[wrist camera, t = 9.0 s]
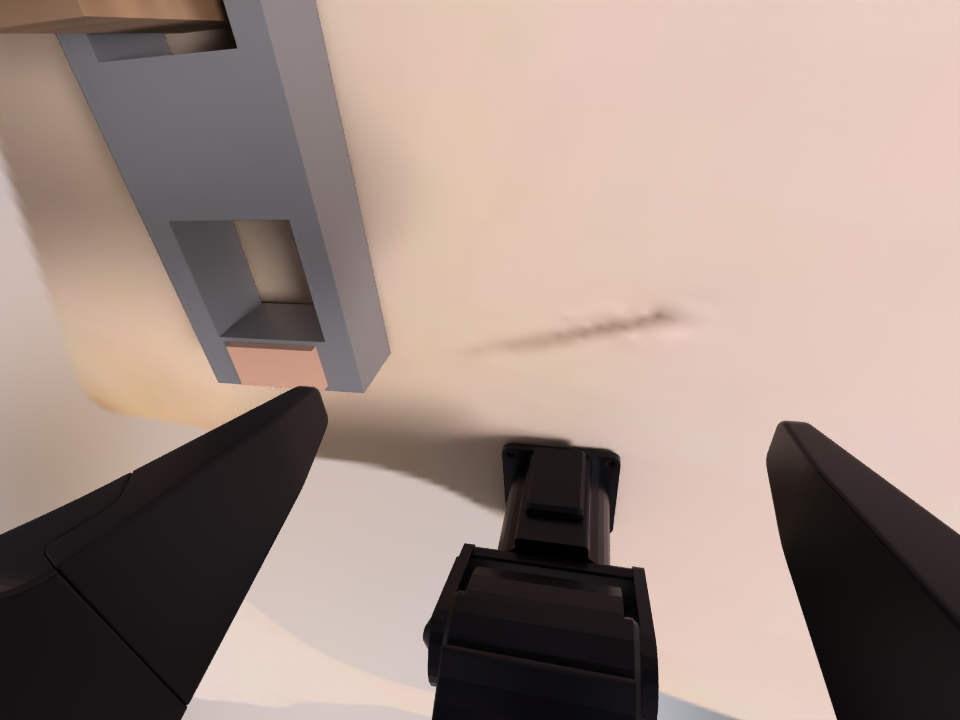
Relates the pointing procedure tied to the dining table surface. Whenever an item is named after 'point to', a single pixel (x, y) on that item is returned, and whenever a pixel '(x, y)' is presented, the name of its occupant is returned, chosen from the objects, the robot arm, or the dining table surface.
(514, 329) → the dining table surface
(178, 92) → the socket strip
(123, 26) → the brown wooden block
